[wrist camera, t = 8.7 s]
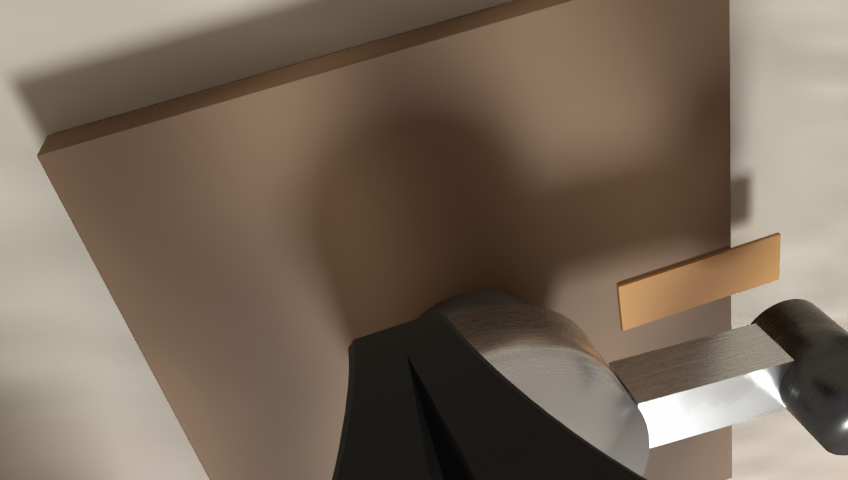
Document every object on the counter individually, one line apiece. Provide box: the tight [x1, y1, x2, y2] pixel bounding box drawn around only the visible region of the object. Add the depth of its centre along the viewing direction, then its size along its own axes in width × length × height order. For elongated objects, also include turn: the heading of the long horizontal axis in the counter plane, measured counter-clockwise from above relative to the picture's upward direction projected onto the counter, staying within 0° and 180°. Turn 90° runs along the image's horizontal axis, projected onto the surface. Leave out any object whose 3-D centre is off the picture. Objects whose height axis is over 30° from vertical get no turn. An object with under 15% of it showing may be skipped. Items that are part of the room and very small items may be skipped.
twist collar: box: [450, 299, 848, 476], centre depth 19 cm, size 12×6×4 cm, turn 98°
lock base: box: [37, 0, 780, 480], centre depth 22 cm, size 18×18×3 cm
